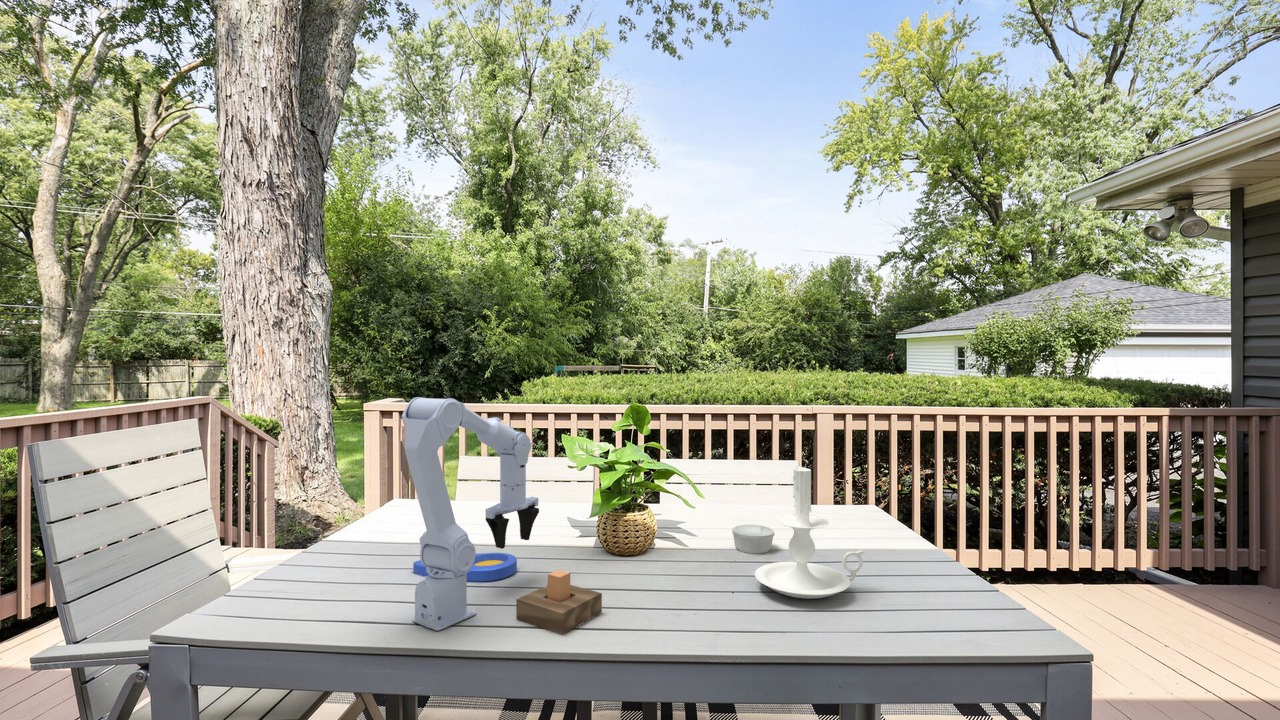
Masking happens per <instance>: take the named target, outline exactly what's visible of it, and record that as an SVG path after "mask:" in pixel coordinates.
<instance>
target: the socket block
mask: <svg viewBox="0 0 1280 720" xmlns="http://www.w3.org/2000/svg"><path fill="white" fill-rule="evenodd" d="M602 593H603V592H599V591H595V590H591V589H588V588H584V587H580V586H577V585H575V584H574V585H573V584H570V598H569V599H567V600H565V601H563V602H561V603H560V602H557V601H553V600H550V599H548V584H547V585H545V586H543V587H541V588H538V589H537V590H534V591H532V592H530V593H527V594H525V595H522V596H520V597H518V598H516V600H515V601H516V602H515V603H516V607H515V609H516V613H515V614H516V615H515V617H516V619H515V620H517V621H520V622H524V623H525V624H529V625H532V626H535V627H538V628H541V629H544V630H547V631H549V632H552V633H556V634H559V635H564V634H567V633H568V632H570V631H571V630H572V631H573V629H575V628H577V627H579V626H580V625H579V624H581V623H583V622H584V623H586V622H588V621H590V620H591V619H590V618H592V617H593V618H595V617H597V616H598V614H599V615H601V614H602V613H601V612H603V598H602V596H603V594H602ZM600 613H601V614H600ZM596 615H597V616H596ZM594 616H595V617H594ZM593 618H592V619H593ZM589 619H590V620H589ZM587 620H588V621H587ZM585 621H586V622H585ZM584 623H583V624H584ZM578 625H579V626H578ZM581 625H582V624H581ZM576 626H577V627H576Z"/></svg>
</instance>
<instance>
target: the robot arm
mask: <svg viewBox="0 0 1280 720" xmlns="http://www.w3.org/2000/svg"><path fill="white" fill-rule="evenodd" d="M401 420H402V423H403V427H404V430H405V433H404V435H405V436H404V453H405V457H406V461H407V464H408V467H409V472H410V475H411V479H412V483H413V486H414V490H415V493H416V496H417V499H418V503H419V508H420V511H421V515H422V518H423V522H424V525H425V531H423V533H422V535H421V536H420V537H419V540H418V541H419V544H420V551H419V552H420V553H419V558H420V560H421V562H422V564H423V565H424V566H425V567H426V572H427V573H429V575H428V576H427V577H425V578H424V579H423V580H421V581H419V582H418V583H417V584H416V586H415V590H414V618H412V622H414V623H415V624H419V625H421V626H423V627H426V628H429V629H432V630H434V631H436V632H437V631H438V632H439V631H441V630H443V629H446V628H448V627H450V626H453V625H455V624H457V623H460V622H461V621H464V620H467V619H468V618H471V617H473V616H475V615H477V611H475V610H472V609H469V608H467V607H468V606H467V605H468V604H467V600H468V599H467V591H468V590H467V588H468V587H467V586H468V585H467V583H468V581H467V573H468V572H469V570H470V568H471V567H472V565H473V563H474V561H475V556H476V554H477V552H476V547H475V545H474V544H473V543H472V541H471V540H470V539H469V535H468V533H467V532H466V530H464V529H463V528H462V527H461V526H460V525H459V524H458V523H457V522H456V519H455V513H454V512H453V506H452V504H451V499H450V496H449V493H448V492H449V491H448V489H447V485H446V481H445V477H444V473H443V469H442V468H443V467H442V465H441V461H440V457H439V454H438V451H439V450H440V448H441V447H442V446H444V445H445V444H446V443H447V441H448V440H449V439H450V438H451V436H452V435H453V434H454V432H456V430H457V429H458V428H459V427H461V428H463V429H466V430H468V431H470V432H472V433H475V434H476V436H477V440H478V441H479V442H480V443H482V444H483V445H485V446H488V447H490V448H492V449H494V451H495V453H496V455H498V456H500V459H499V460H500V461H499V466H500V469H499V471H500V472H499V473H500V477H499V482H500V484H499V487H500V488H499V492H500V493H499V494H500V495H499V496H500V497H499V499H500V500H499V503H496V504H495V505H492V506H490V507H487V508H485V521H486V523H487V525H488V527H489V528H490V531H491V533H492V536H493V539H494V543H495V547H496V548H497V549H505V548H506V539H507V538H506V535H507V530H508V529H507V528H508V524H509V522H510V519H509V518H507V517H506V518H505V516H504V515H507V514H509V513H514V512H517V516H518V522H519V534H520V539H521V540H525V541H529V540H530V538H531V533H532V530H533V526H534V523H535V521H536V518H537V517H538V515H539V513H540V508H539V507H538V506H539V497H536V496H530V497H527V496H526V493H527V492H526V491H527V485H526V484H527V478H526V477H527V471H526V469H527V464H528V461H529V455H530V452H531V449H532V442H531V438H530V437H529V435H528V434H527V433H525V432H523V431H516V430H515V429H514V426H512V425H507V424H504V423H502V419H501V418H499V417H495V416H494V417H489V418H486V419H485V418H483V417H482V416H481V415H479V414H478V413H476V412H474V411H473V410H471V409H470V408H468V407H467V406H466V405H465V403H464V402H460V401H459V400H457V399H455V398H451V397H450V398H448V397H447V398H431V397H430V398H429V397H428V398H427V397H424V396H422V397H421V396H417V397H413V398H412V399H411V400H409V401H408V403H407V405H406V407H405V409H404V410H403V412H402V415H401Z"/></svg>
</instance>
